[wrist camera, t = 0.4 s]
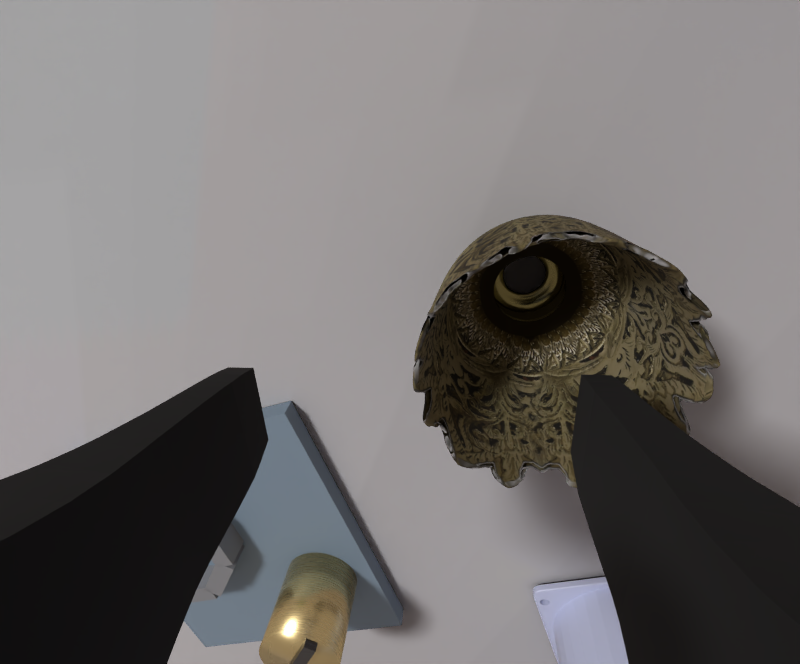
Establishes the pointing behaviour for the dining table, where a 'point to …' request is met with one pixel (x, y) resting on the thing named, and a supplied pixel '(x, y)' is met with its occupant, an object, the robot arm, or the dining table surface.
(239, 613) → the blue-grey flat slab
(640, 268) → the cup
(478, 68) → the dining table surface
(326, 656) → the knob
